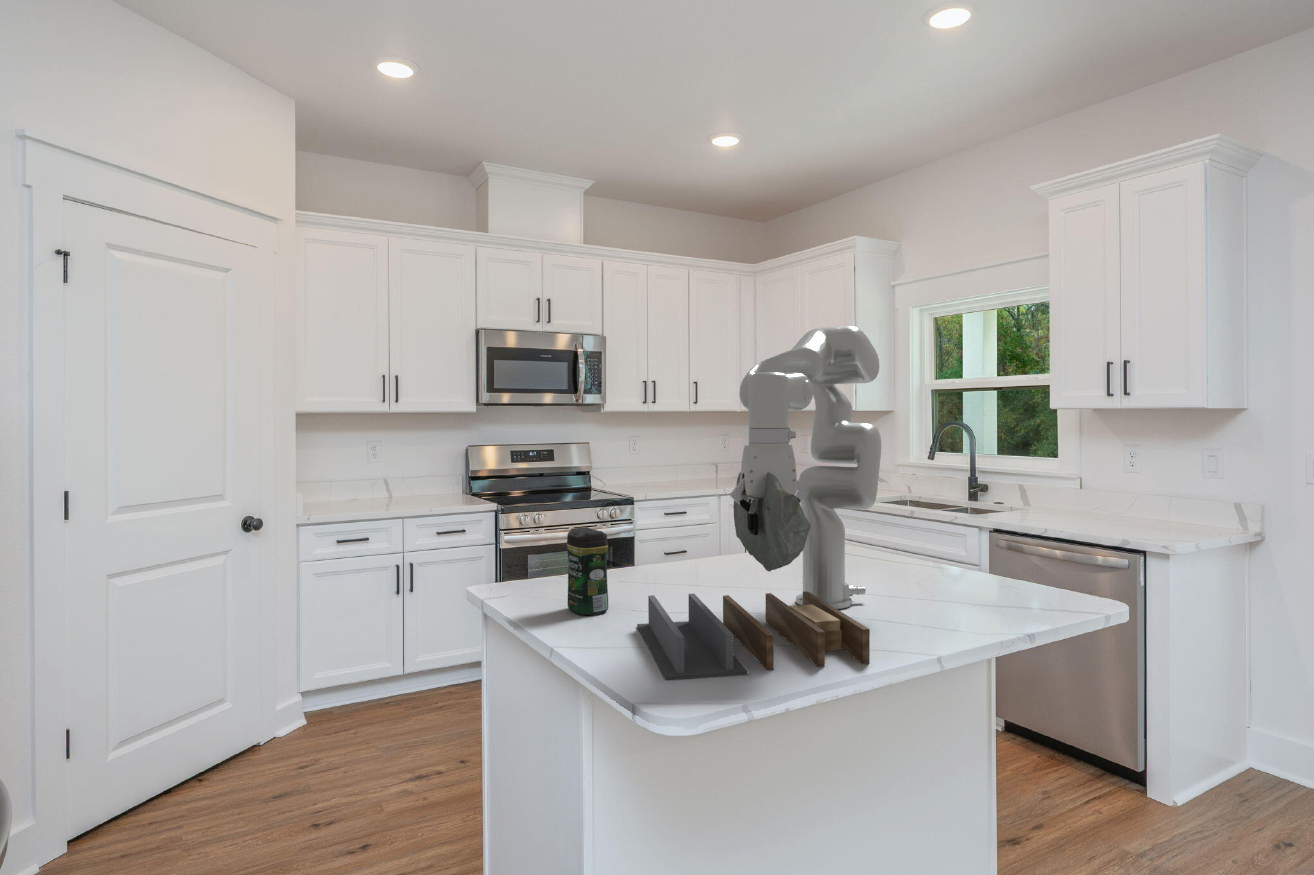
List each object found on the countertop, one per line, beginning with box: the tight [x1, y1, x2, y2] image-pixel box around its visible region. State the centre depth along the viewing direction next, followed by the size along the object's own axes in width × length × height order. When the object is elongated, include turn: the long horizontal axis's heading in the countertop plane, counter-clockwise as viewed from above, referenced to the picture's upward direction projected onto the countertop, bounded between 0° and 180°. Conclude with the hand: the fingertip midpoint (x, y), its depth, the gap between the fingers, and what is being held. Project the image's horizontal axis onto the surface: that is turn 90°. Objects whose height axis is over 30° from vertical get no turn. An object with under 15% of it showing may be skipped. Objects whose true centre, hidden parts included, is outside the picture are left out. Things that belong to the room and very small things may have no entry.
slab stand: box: [636, 593, 749, 681], centre depth 140 cm, size 14×32×7 cm, turn 10°
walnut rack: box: [722, 591, 871, 671], centre depth 143 cm, size 19×29×6 cm, turn 10°
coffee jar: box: [566, 526, 609, 616], centre depth 168 cm, size 10×8×19 cm
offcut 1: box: [789, 604, 840, 632], centre depth 144 cm, size 5×12×2 cm, turn 13°
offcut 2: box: [825, 630, 842, 643], centre depth 144 cm, size 5×12×2 cm, turn 18°
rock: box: [732, 471, 810, 572], centre depth 142 cm, size 27×6×20 cm, turn 18°
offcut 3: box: [825, 641, 842, 652], centre depth 144 cm, size 5×12×2 cm, turn 17°
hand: (769, 532), depth 142 cm, fingers closed on rock, 5 cm apart
